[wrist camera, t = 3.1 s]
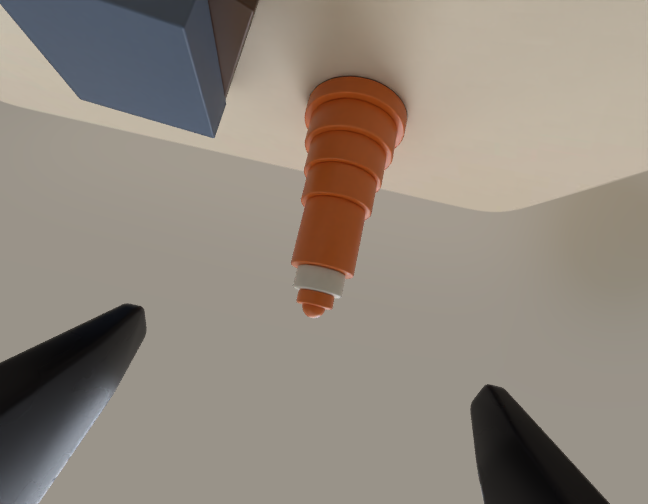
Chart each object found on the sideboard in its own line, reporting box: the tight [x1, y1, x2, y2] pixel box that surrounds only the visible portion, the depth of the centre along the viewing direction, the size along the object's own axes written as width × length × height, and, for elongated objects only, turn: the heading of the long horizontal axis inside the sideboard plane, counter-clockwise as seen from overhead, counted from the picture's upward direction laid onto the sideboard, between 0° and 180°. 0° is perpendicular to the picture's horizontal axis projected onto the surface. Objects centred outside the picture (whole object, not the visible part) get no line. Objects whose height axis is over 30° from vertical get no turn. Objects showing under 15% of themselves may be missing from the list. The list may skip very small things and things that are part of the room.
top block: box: [0, 0, 226, 138], centre depth 13 cm, size 7×7×2 cm
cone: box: [291, 77, 407, 318], centre depth 18 cm, size 6×6×12 cm
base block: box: [208, 0, 259, 100], centre depth 14 cm, size 8×8×2 cm
